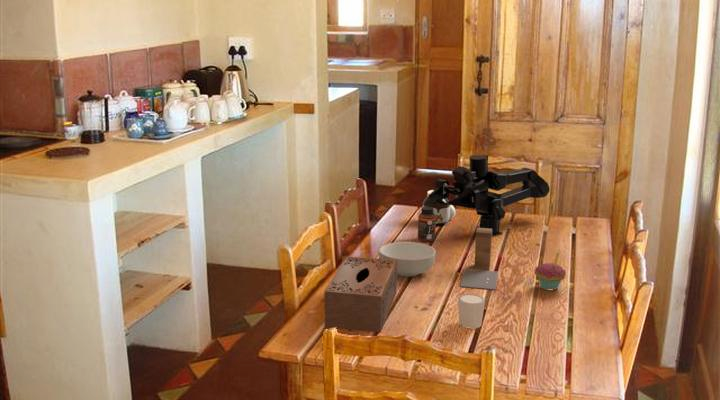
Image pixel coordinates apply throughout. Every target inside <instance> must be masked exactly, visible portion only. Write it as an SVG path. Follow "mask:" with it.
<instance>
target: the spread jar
mask: <svg viewBox="0 0 720 400" xmlns="http://www.w3.org/2000/svg"><path fill="white" fill-rule="evenodd" d="M434 190H435V189H431V190H428V191H427V195H426V198H425V199H424V200H423V202H422V207H425V206H429V207H433V213H434V214H435V215H436V227H440V226H444V225H445V224H447V223H448V222H449V220H452V219H453V218H454V217H455V216H456V208H455V206H454V205H449V204H448V201H450V199H448V198H446V199H443V200H441V199H430V198H429V194H430V193H432V192H433V191H434ZM422 207H421V208H422Z"/></svg>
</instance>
